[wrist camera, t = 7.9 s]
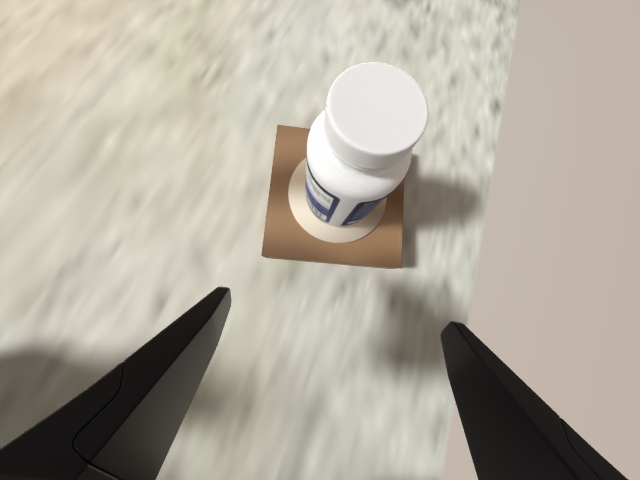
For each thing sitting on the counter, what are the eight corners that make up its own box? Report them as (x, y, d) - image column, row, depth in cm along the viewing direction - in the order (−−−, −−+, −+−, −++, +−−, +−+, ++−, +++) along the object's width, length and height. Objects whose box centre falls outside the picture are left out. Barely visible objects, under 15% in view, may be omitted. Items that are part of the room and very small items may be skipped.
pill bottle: (374, 170, 19) (452, 59, 9) (367, 233, 18) (444, 184, 8) (310, 158, 18) (320, 31, 9) (299, 222, 17) (297, 158, 8)
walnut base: (389, 268, 20) (402, 267, 18) (266, 257, 20) (260, 255, 17) (393, 155, 22) (405, 139, 19) (280, 142, 21) (277, 123, 19)
